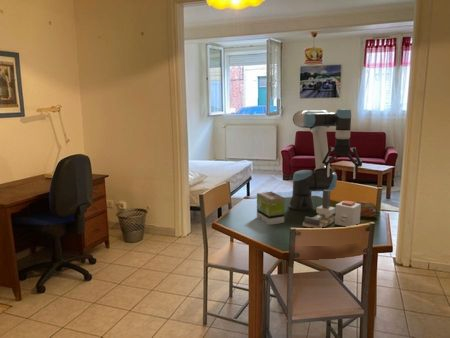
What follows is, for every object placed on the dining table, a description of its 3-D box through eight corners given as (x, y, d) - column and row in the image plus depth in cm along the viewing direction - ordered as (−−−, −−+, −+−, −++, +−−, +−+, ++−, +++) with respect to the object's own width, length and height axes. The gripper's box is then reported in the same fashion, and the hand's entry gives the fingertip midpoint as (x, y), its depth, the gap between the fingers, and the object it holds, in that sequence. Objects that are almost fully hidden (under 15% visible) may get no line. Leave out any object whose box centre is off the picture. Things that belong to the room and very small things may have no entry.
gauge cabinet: (334, 224, 212) (335, 204, 210) (342, 219, 220) (343, 200, 218) (352, 228, 205) (353, 208, 203) (359, 223, 213) (360, 203, 211)
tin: (349, 215, 228) (349, 201, 227) (349, 213, 231) (350, 199, 230) (376, 217, 223) (377, 203, 221) (376, 216, 226) (377, 202, 224)
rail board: (319, 229, 203) (320, 220, 202) (302, 225, 209) (302, 216, 208) (339, 218, 221) (339, 210, 220) (322, 215, 227) (323, 207, 226)
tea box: (256, 217, 224) (256, 192, 221) (271, 215, 228) (271, 191, 225) (268, 225, 210) (269, 199, 208) (284, 222, 214) (285, 197, 212)
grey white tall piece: (329, 218, 213) (330, 192, 211) (316, 216, 218) (317, 190, 216) (334, 215, 219) (336, 190, 216) (321, 213, 224) (323, 188, 221)
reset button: (341, 207, 211) (342, 202, 210) (345, 205, 215) (345, 200, 214) (350, 209, 208) (351, 203, 207) (354, 207, 211) (354, 202, 211)
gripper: (317, 138, 208) (316, 177, 211) (367, 139, 198) (364, 180, 201) (320, 137, 215) (319, 174, 218) (368, 138, 205) (366, 177, 208)
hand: (341, 177), depth 210 cm, fingers open, 13 cm apart
